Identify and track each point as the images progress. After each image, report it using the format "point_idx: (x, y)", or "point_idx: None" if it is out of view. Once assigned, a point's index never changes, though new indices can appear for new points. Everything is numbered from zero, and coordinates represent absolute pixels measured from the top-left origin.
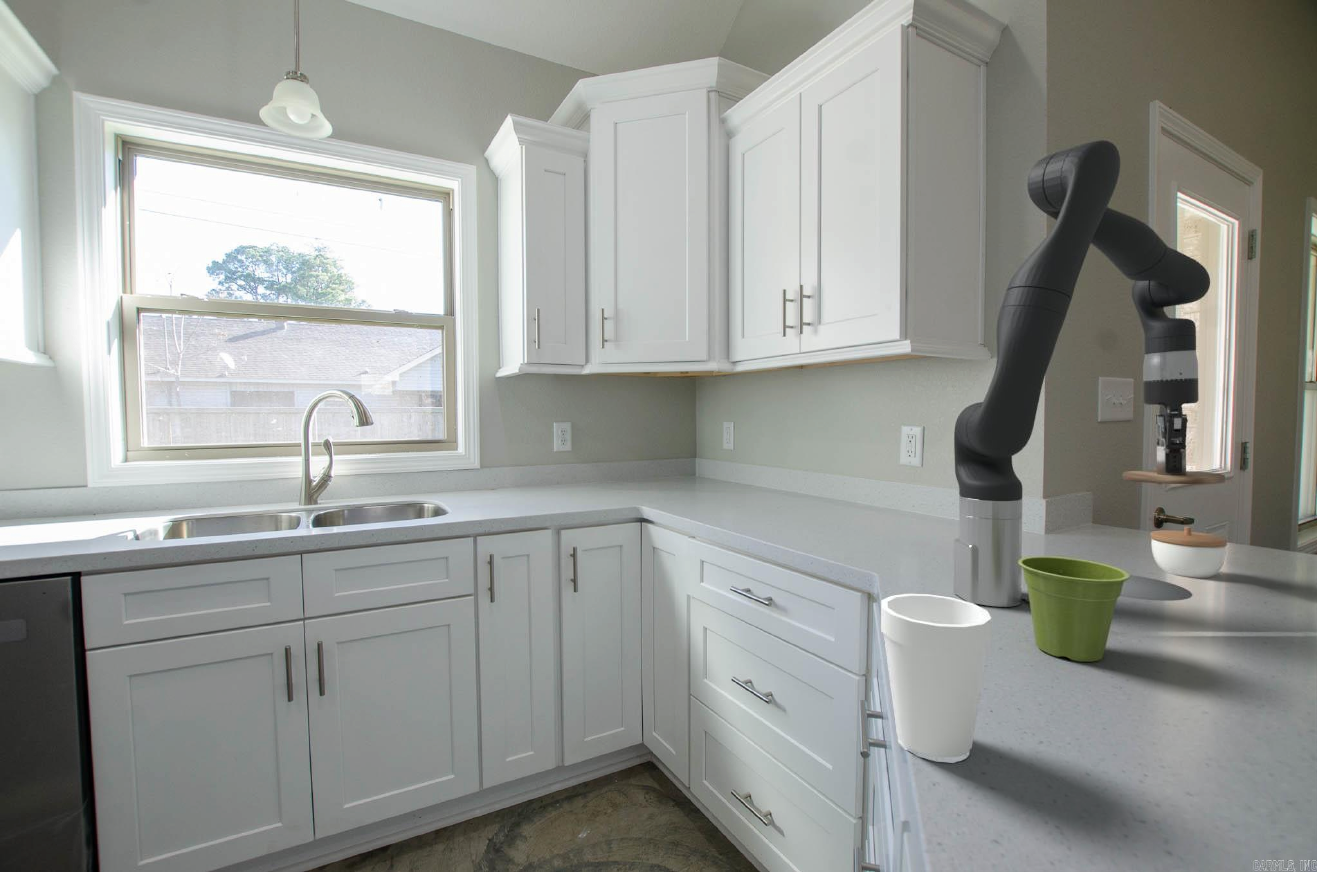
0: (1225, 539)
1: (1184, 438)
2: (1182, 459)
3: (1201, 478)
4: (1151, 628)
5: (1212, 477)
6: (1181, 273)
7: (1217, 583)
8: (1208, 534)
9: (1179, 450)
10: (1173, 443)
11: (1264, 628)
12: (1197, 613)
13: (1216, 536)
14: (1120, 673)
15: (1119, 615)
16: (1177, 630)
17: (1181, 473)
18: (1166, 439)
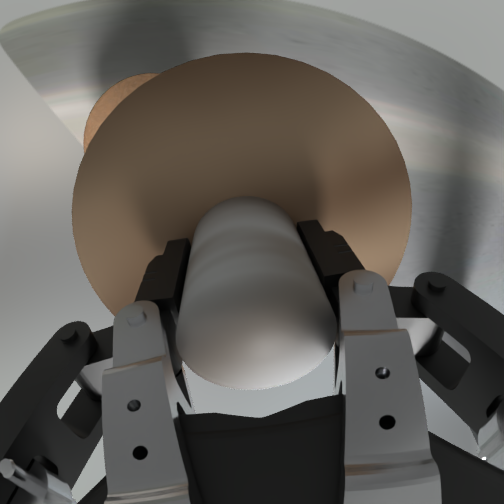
0: (147, 75)
1: (494, 317)
2: (300, 246)
3: (401, 154)
4: (478, 189)
5: (360, 110)
6: None
7: None
8: (105, 109)
9: (403, 291)
10: (440, 340)
11: (435, 81)
12: (413, 136)
13: (122, 93)
14: None
15: (453, 213)
16: (476, 168)
17: (288, 216)
18: (426, 383)
